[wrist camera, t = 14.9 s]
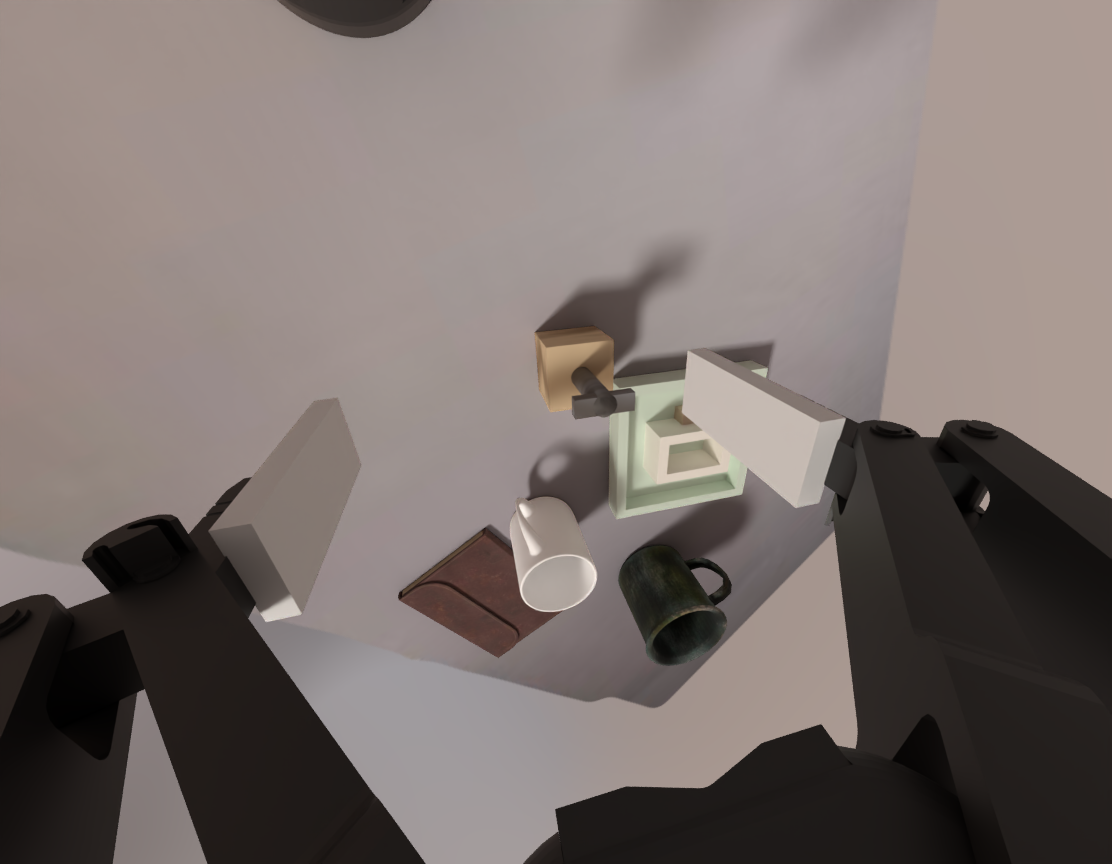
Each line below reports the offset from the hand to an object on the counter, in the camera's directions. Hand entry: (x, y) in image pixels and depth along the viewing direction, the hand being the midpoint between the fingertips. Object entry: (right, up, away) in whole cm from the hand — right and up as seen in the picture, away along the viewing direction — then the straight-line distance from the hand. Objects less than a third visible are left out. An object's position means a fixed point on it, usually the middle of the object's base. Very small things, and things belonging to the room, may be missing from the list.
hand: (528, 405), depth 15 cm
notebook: (-8, -24, +42) cm, 49 cm away
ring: (+17, -2, +35) cm, 39 cm away
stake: (+2, +7, +28) cm, 28 cm away
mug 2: (+17, -21, +46) cm, 53 cm away
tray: (+16, -2, +36) cm, 39 cm away
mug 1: (-2, -11, +36) cm, 38 cm away
